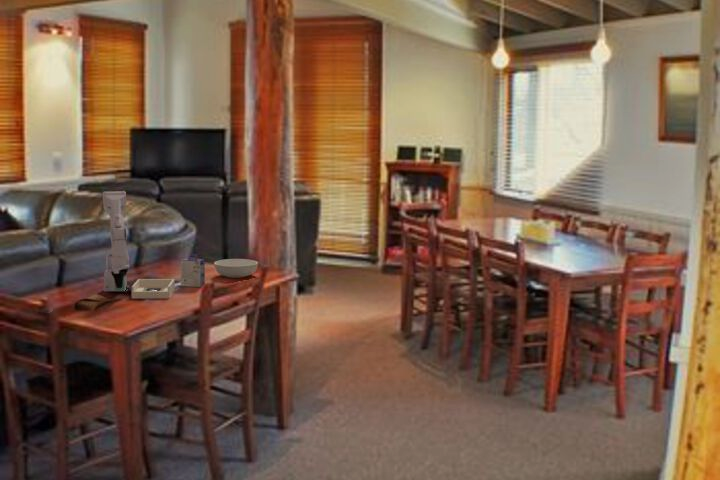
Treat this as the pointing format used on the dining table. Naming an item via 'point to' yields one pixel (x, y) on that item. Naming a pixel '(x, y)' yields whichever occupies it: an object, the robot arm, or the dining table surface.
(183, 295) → the dining table surface
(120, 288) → the block
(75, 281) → the dining table surface
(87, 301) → the sunglasses case
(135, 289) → the walled box
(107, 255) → the robot arm
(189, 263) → the ink cartridge box
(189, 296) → the dining table surface
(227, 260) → the serving bowl
